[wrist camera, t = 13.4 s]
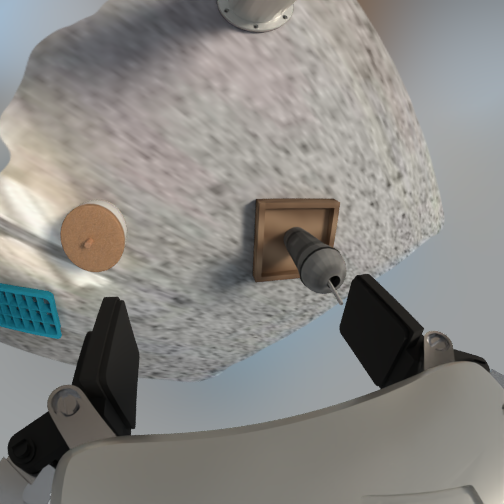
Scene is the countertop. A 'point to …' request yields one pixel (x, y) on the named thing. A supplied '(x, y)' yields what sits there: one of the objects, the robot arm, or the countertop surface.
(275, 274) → the walnut tray
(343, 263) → the beverage cup
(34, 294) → the ice cube tray
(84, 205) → the lidded jar
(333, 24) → the countertop surface
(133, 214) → the countertop surface
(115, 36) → the countertop surface
